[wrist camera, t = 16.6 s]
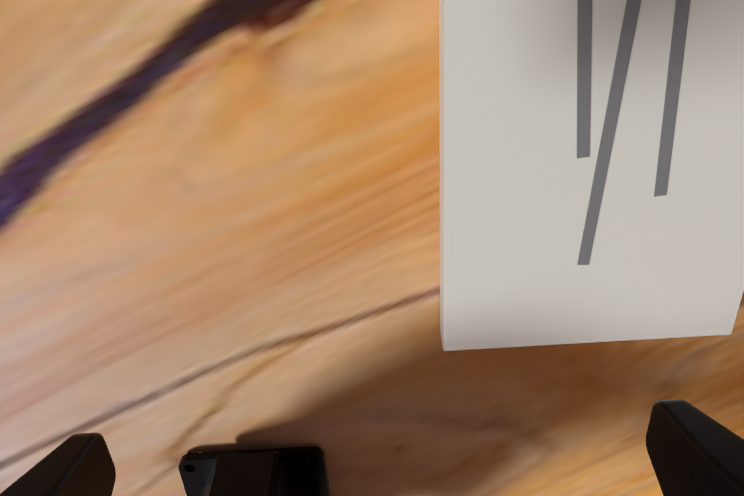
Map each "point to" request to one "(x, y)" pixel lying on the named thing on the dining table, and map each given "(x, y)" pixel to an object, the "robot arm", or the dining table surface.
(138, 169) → the dining table surface
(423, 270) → the dining table surface
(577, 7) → the board
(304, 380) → the dining table surface
